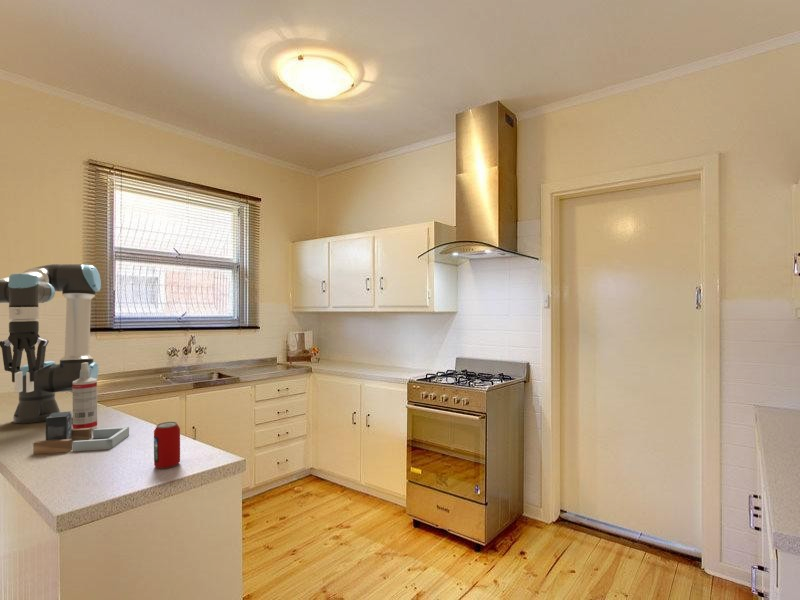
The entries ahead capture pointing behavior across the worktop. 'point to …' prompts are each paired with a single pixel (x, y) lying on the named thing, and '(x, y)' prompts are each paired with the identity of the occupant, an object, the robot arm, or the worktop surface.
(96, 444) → the bay
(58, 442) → the brown bar
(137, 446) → the worktop surface
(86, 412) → the white bottle
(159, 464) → the beverage can
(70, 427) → the box
